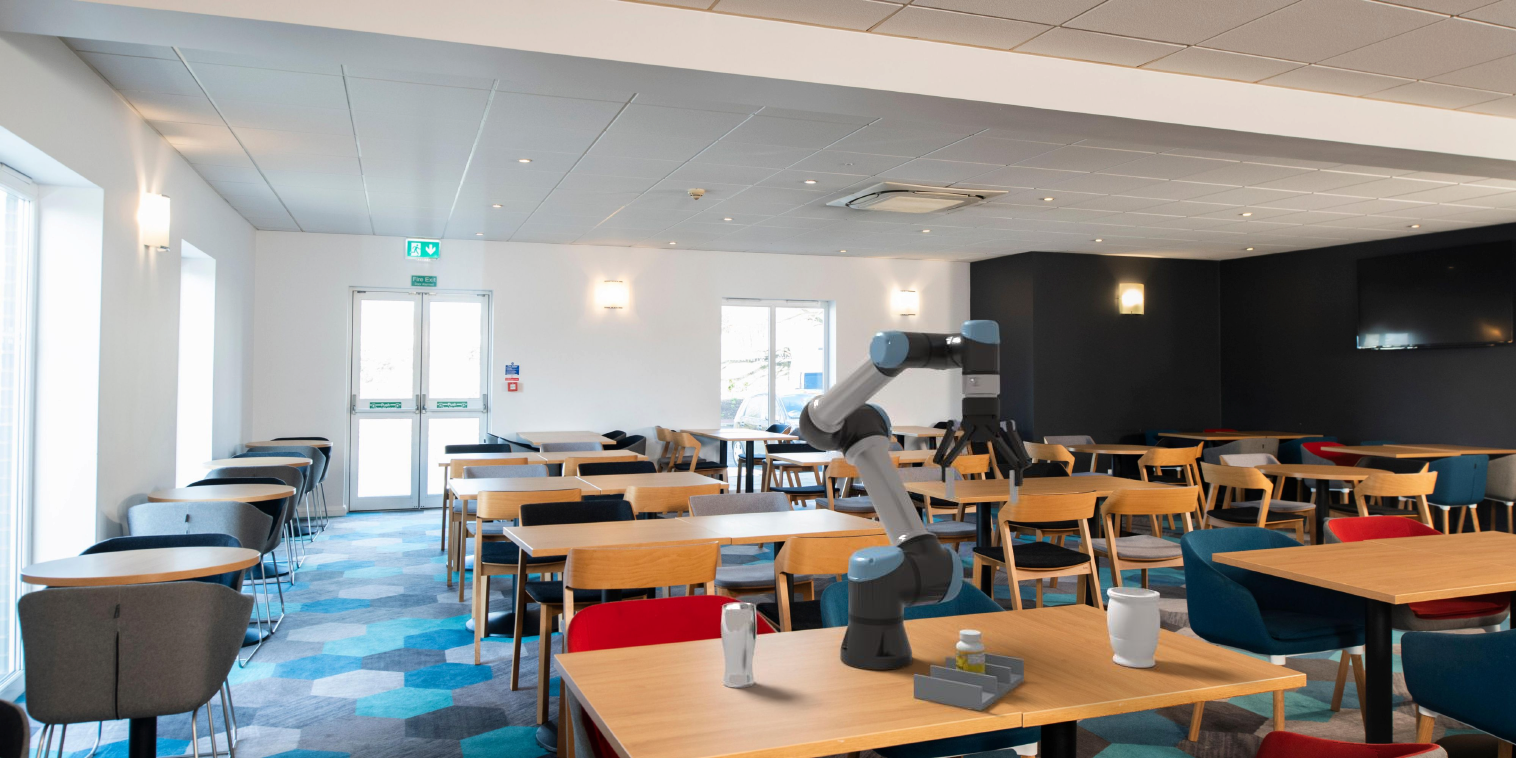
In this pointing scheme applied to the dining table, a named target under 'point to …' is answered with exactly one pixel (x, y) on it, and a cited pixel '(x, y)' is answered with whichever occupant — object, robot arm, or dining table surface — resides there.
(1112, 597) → the jar
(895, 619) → the robot arm
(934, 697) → the rack
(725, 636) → the beer glass
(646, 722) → the dining table surface
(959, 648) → the supplement bottle
